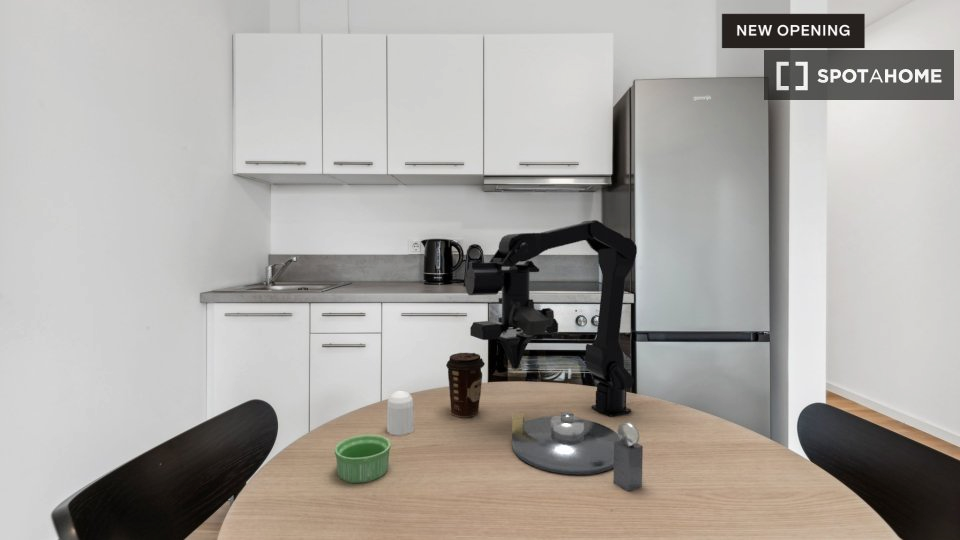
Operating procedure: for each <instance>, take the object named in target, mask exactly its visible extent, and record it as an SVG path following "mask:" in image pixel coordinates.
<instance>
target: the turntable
mask: <svg viewBox="0 0 960 540" xmlns="http://www.w3.org/2000/svg"><path fill="white" fill-rule="evenodd" d="M552 417H554V416H551V415H550V416H542V417H541V416H540V417H536V418H532V419H531V418H530V419H528V420H525V413H519V412H513V414H512V417H511V433H512V434H511V435H512V440H511V441H512V443H511V445H512V447H511V448H512V451H514V454H515V455H516V456H517V457H518V458H519V459H521V460H522V461H523V462H525V463H527V464H529V465H530V466H532V467H535V468H537V469H541V470H544V471H547V472H552V473H556V474H563V475H592V474H593V475H594V474H599V473H603V472H606V471H609V470H611V469H614V443H615V442H618V441H621V440H620V438H619V435H618V432H616V431H615V430H613V429H611V428H610V427H609V426H606V425H604V424H602V423H599V422H595V421H593V420H589V419H584V418H581V419H582V420H583V421H584V440H583V441H582V442H580V443H576V444H565V443H560V442H557V441H555V440H553V439H552V438H551V418H552Z"/></svg>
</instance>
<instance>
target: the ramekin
mask: <svg viewBox="0 0 960 540" xmlns="http://www.w3.org/2000/svg"><path fill="white" fill-rule="evenodd" d="M391 446H392V443H391V440H389V439H388V438H387V437H385V436H383V435H377V434H362V435H356V436H351V437H348V438H345V439H343V440H341V441H340V442H339V443H337V444H336V445H335V447H334V455H335V457H336V458H335V460H336V467H337V470H336V471H337V474H338V476H339V478H340V479H341V480H343V481H344V482H348V483H350V484H351V483H353V484H362V483H368V482H372V481H374V480H377V479H379V478H381V477H382V476H384V475H385V474H386V473H387V471H388V469H389V459H390V450H391Z"/></svg>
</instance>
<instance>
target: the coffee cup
mask: <svg viewBox="0 0 960 540" xmlns="http://www.w3.org/2000/svg"><path fill="white" fill-rule="evenodd" d="M445 365H446V368H447V376H448V378H447V379H448V388H449V389H448V390H449V399H450V414H451V416H454V417H456V418H457V417H458V418H470V417H474V416H476V415H478V414H479V411H480V399H481V393H482V383H483V372H482V368H483V367H485V365H486V364H485V362H484V359H483V358H482V357H481V355H480V354H479V353H475V352H458V353H454V354H451V355H449V360H448V361H447V362H446V364H445Z"/></svg>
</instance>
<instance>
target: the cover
mask: <svg viewBox="0 0 960 540" xmlns="http://www.w3.org/2000/svg"><path fill="white" fill-rule="evenodd" d="M582 419H583V418H580V417H578V416H575V414H574V413H572V412H570V411H569V412H568V411H565V412H561V413H560V414H558V415H555V416H554V417H552V418H551V438H552V439H553V440H555V441H557V442H560V443H565V444H576V443H580V442H582V441H583V440H584V421H583V420H582Z"/></svg>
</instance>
